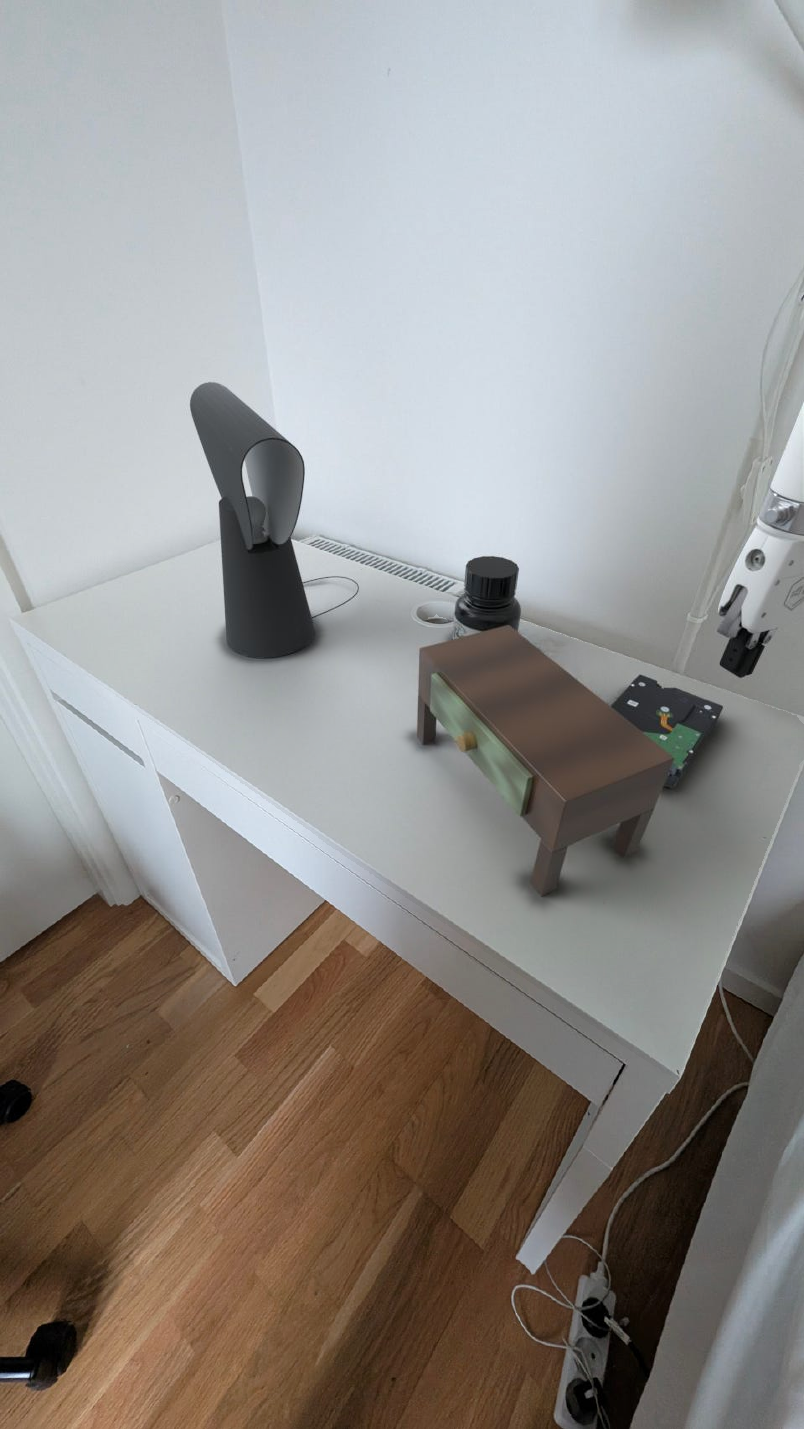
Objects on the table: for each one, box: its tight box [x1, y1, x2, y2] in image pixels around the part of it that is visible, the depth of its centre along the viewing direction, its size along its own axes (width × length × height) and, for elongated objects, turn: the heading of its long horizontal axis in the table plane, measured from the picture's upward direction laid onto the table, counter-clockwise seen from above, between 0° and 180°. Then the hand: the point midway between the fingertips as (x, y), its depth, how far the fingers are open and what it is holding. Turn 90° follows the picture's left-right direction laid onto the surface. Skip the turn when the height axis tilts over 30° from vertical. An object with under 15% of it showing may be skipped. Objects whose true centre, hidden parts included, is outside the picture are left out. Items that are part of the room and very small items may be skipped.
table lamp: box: [189, 381, 360, 659], centre depth 80 cm, size 40×28×30 cm
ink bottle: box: [452, 555, 522, 640], centre depth 78 cm, size 10×9×12 cm
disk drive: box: [610, 674, 724, 789], centre depth 66 cm, size 10×3×15 cm
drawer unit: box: [416, 625, 675, 897], centre depth 56 cm, size 24×13×12 cm, turn 26°
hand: (734, 669), depth 67 cm, fingers closed
